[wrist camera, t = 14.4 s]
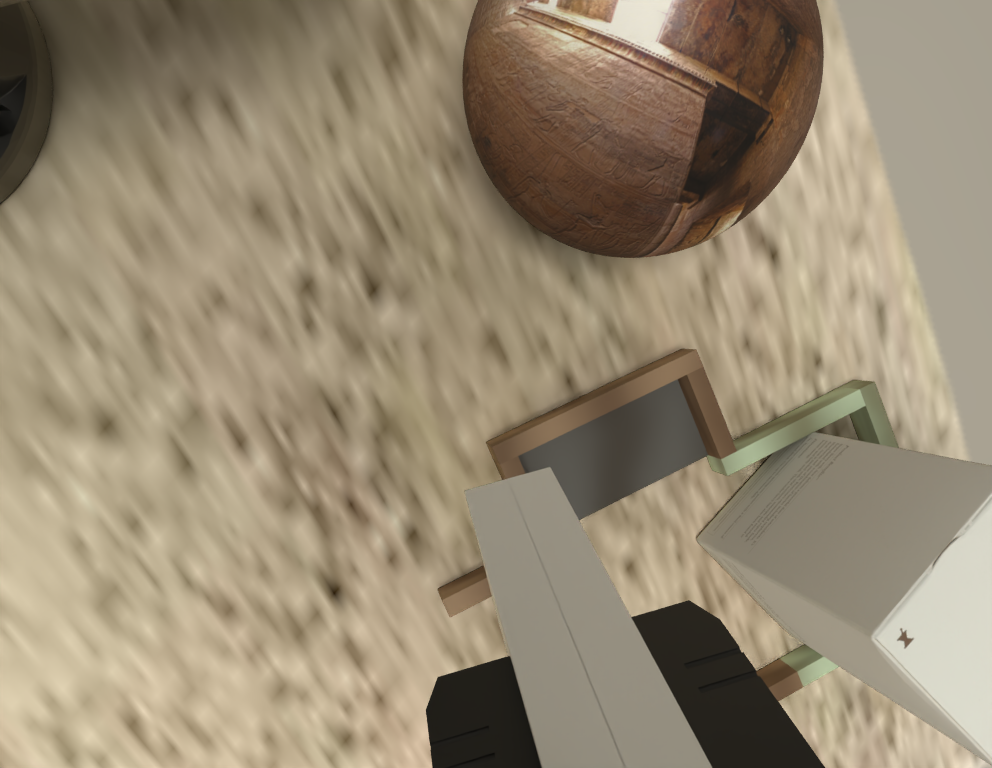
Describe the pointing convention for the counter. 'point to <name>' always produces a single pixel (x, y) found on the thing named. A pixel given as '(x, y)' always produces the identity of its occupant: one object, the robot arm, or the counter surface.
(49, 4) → the counter surface
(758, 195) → the wooden sphere
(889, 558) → the supplement box
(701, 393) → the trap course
